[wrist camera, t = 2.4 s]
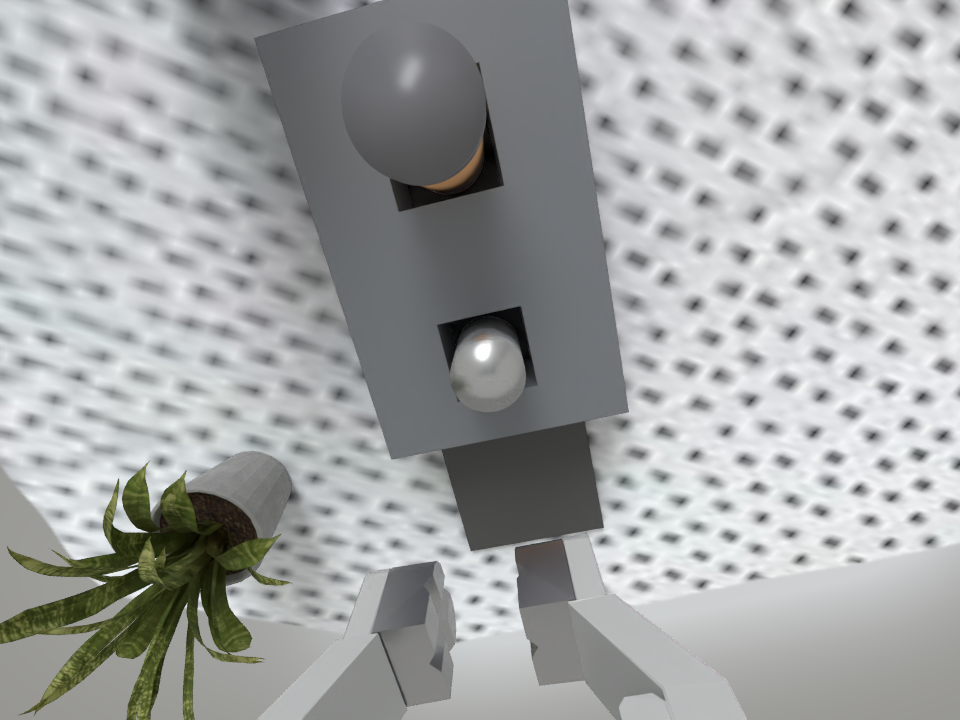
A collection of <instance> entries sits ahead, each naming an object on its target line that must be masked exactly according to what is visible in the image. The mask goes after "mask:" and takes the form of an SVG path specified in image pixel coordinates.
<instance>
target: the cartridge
mask: <svg viewBox="0 0 960 720" xmlns="http://www.w3.org/2000/svg"><path fill="white" fill-rule="evenodd" d="M341 107H342V115H343V120H344V124H345V127H346V130H347V133H348V135H349V137H350V139H351V141H352V143H353V145H354V147H355V148H356V150H357V151H358V153H359V154H360V155H361V156H362V158H363V159H364V160H365V161H366V162H367V163H368V164H369V165H370V166H371V167H373V168H374V169H375V170H377V171H378V172H379V173H381V174H383V175H385V176H387V177H389V178H391V179H394V180H396V181H399V182H401V183H404V184H408V185H415V186H422V187H424V188H426V189H429V190H431V191H433V192H436V193H439V194H445V195H449V194H456V193H459V192H462V191H464V190H465V189H467V188H468V187H470V186H471V185H472V184H473V183H474V182H475V181H476V179H477V178H478V176H479V174H480V172H481V170H482V167H483V163H484V142H483V134H484V130H485V124H486V97H485V90H484V85H483V81H482V77H481V75H480V72H479V69H478V67H477V65H476V63H475V61H474V59H473V58H472V56H471V55H470V53H469V52H468V51H467V49H466V48H465V47H464V46H463V45H462V44H461V42H460V41H459V40H457V39H456V38H455V37H454V36H453V35H451V34H450V33H448V32H447V31H445V30H443V29H442V28H440V27H437V26H435V25H433V24H429V23H425V22H420V21H401V22H396V23H392V24H389V25H387V26H384V27H382V28H380V29H379V30H377V31H375V32H374V33H372V34H371V35H370V36H368V37H367V38H366V39H365V40H364V41H363V42H362V43H361V44H360V46H359V47H358V48H357V50H356V51H355V52H354V54H353V56H352V58H351V59H350V61H349V63H348V66H347V69H346V71H345V75H344V79H343V83H342V91H341Z"/></svg>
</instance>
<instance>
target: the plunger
mask: <svg viewBox="0 0 960 720" xmlns="http://www.w3.org/2000/svg"><path fill="white" fill-rule="evenodd" d="M450 382H451V386H452V389H453V391H454V393H455V395H456V396H457V398H458V399H459V400H460V401H461V402H462V403H463V404H465V405H466V406H468V407H469V408H471V409H474V410H477V411H481V412H495V411H499V410H502V409H505V408H507V407H508V406H510V405H511V404H513V403H514V402H515V401H516V400H517V399H518V398H519V396H520V395H521V393H522V391H523V389H524V386H525V382H526V371H525V366H524V362H523V357H522V353H521V349H520V344H519V340H518V336H517V334H516V332H515V330H514V328H513V327H512V326H511V325H510V324H509V323H508V322H506V321H505V320H503V319H501V318H499V317H495V316H482V317H478V318H476V319H474V320H472V321H470V322H469V323H468V324H467V325H466V326H465V327H464V328H463V330H462V331H461V333H460V336H459V339H458V343H457V347H456V350H455V354H454V358H453V362H452V366H451V370H450Z"/></svg>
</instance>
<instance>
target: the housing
mask: <svg viewBox="0 0 960 720" xmlns="http://www.w3.org/2000/svg"><path fill="white" fill-rule="evenodd" d="M401 21H420V22H425V23H429V24H433V25H435V26H437V27H440V28H442V29H443V30H445V31H447V32H448V33H450V34H451V35H453V36H454V37H455V38H456V39H457V40H459V41H460V42H461V44H462V45H463V46H464V47H465V48H466V49H467V51H468V52H469V53H470V55H471V56H472V58H473V59H474V61H475V63H476V65H477V67H478V69H479V72H480V75H481V77H482V81H483V85H484V90H485V97H486V117H487V121H488V126H489V131H490V136H491V141H492V146H493V151H494V155H495V160H496V165H497V170H498V175H499V180H500V185H501V187H497V188H493V189H489V190H485V191H481V192H477V193H473V194H469V195H465V196H461V197H457V198H453V199H449V200H445V201H441V202H437V203H433V204H429V205H425V206H421V207H417V208H413V205H412V201H411V198H410V194H409V190H408V186H407V184H404V183H401V182H399V181H396V180H394V179H391V178H389V177H387V176H385V175H383V174H381V173H379V172H378V171H377V170H375V169H374V168H373V167H371V166H370V165H369V164H368V163H367V162H366V161H365V160H364V159H363V158H362V156H361V155H360V154H359V153H358V151H357V150H356V148H355V147H354V145H353V143H352V141H351V139H350V137H349V135H348V133H347V130H346V127H345V124H344V120H343V115H342V107H341V91H342V83H343V79H344V75H345V71H346V69H347V66H348V63H349V61H350V59H351V58H352V56H353V54H354V52H355V51H356V50H357V48H358V47H359V46H360V44H361V43H362V42H363V41H364V40H365V39H366V38H367V37H368V36H370V35H371V34H372V33H374V32H375V31H377V30H379V29H380V28H382V27H384V26H387V25H389V24H392V23H396V22H401ZM254 39H255V42H256V45H257V48H258V51H259V54H260V58H261V61H262V64H263V67H264V70H265V73H266V76H267V79H268V82H269V85H270V88H271V91H272V94H273V97H274V100H275V104H276V107H277V110H278V113H279V116H280V119H281V122H282V125H283V128H284V131H285V134H286V137H287V140H288V143H289V146H290V150H291V153H292V156H293V159H294V162H295V165H296V168H297V171H298V174H299V177H300V180H301V183H302V186H303V189H304V192H305V196H306V199H307V202H308V205H309V208H310V211H311V214H312V217H313V220H314V223H315V226H316V229H317V232H318V235H319V238H320V242H321V245H322V248H323V251H324V254H325V257H326V260H327V263H328V266H329V269H330V272H331V275H332V278H333V281H334V284H335V288H336V291H337V294H338V297H339V300H340V303H341V306H342V309H343V312H344V315H345V318H346V321H347V324H348V327H349V330H350V334H351V337H352V340H353V343H354V346H355V349H356V352H357V355H358V358H359V361H360V364H361V367H362V370H363V373H364V376H365V380H366V383H367V386H368V389H369V392H370V395H371V398H372V401H373V404H374V407H375V410H376V413H377V416H378V419H379V422H380V426H381V429H382V432H383V435H384V438H385V441H386V444H387V447H388V450H389V453H390V456H391V459H397V458H402V457H407V456H412V455H417V454H422V453H427V452H432V451H437V450H442V449H447V448H452V447H457V446H462V445H467V444H472V443H477V442H482V441H487V440H492V439H497V438H502V437H507V436H512V435H517V434H522V433H527V432H532V431H537V430H542V429H547V428H552V427H557V426H562V425H567V424H572V423H577V422H582V421H587V420H592V419H597V418H602V417H607V416H612V415H617V414H622V413H627V412H629V410H628V403H627V397H626V390H625V383H624V376H623V370H622V363H621V356H620V350H619V343H618V336H617V329H616V323H615V316H614V309H613V303H612V296H611V289H610V282H609V276H608V269H607V262H606V256H605V249H604V242H603V235H602V229H601V222H600V215H599V209H598V202H597V195H596V188H595V182H594V175H593V168H592V162H591V155H590V148H589V141H588V135H587V128H586V121H585V115H584V108H583V101H582V94H581V88H580V81H579V74H578V68H577V61H576V54H575V47H574V41H573V34H572V27H571V21H570V14H569V7H568V0H383V1H379V2H376V3H372V4H369V5H366V6H362V7H359V8H355V9H352V10H349V11H345V12H342V13H338V14H335V15H332V16H328V17H325V18H321V19H318V20H315V21H311V22H308V23H304V24H301V25H298V26H294V27H291V28H287V29H284V30H281V31H277V32H274V33H270V34H267V35H263V36H260V37H257V38H254ZM518 306H519V308H520V313H521V317H522V322H523V327H524V332H525V337H526V341H527V346H528V351H529V356H530V359H527V360H523V362H524V366H525V371H526V382H525V386H524V389H523V391H522V393H521V395H520V396H519V398H518V399H517V400H516V401H515V402H514V403H513V404H511V405H510V406H508V407H507V408H505V409H502V410H499V411H495V412H481V411H477V410H474V409H471V408H469V407H468V406H466V405H465V404H463V403H462V402H461V401H460V400H459V399H458V398H457V396H456V395H455V393H454V391H453V389H452V386H451V382H450V370H451V366H452V362H453V358H454V354H455V350H456V345H455V342H454V338H453V334H452V330H451V326H450V322H451V321H456V320H460V319H465V318H469V317H474V316H478V315H482V314H487V313H491V312H496V311H500V310H505V309H509V308H514V307H518Z"/></svg>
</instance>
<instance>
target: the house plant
mask: <svg viewBox="0 0 960 720" xmlns="http://www.w3.org/2000/svg"><path fill="white" fill-rule="evenodd" d="M148 463H149V462H148ZM148 463H147V464H146V465H145V466H144V467H143V468H142V469H141V470H140V471H139V472H137V473H136V474H135V475H134V476H133V477H132V478H131V479H130V480H129V481H128V482H127V484H126V486H125V489H124V491H123V496H122V502H123V507H124V510H125V512H126V514H127V516H128V518H129V519H130V521H131V522H132V523H133V524H134V526H135V527H136V528H138V529H141V530H144V531H147V532H148V533H123V532H121V531H120V530H118V529H116V528H115V527H114V526H113V524H112V523H113V518H114V514H115V510H116V505H117V498H118V490H119V479H118V481H117V485H116V487H115V490H114V493H113V496H112V499H111V501H110V503H109V505H108V507H107V509H106V512H105V515H104V520H103V529H104V533H105V536H106V538H107V540H108V541H109V543H110V545H111V546H112V548H113V549H114V551H115V552H116V553H114V554H109V555H103V556H96V557H91V558H86V559H81V560H72V559H70V561H69V560H68V559H66V558H65V557H63V556H62V555H60V554H59V553H57V552H55V551H54V552H55V553H56V554H57V555H59V556H60V557H61V558H63V559H64V560H65V561H66V562H68V563H69V565H71V566H72V567H58V566H54V565H50V564H46V563H43V562H41V561H38V560H35V559H33V558H30V557H27V556H24V555H21V554H17V553H15V552H13V551H11V550H10V549H9V548H8V547H7V548H8V551H9V553H10V555H11V556H12V557H13V558H14V559H15V560H16V561H17V562H18V563H19V564H20V565H22V566H23V567H25V568H26V569H28V570H31V571H33V572H36V573H39V574H44V575H48V576H61V577H91V578H93V579H96V580H99V581H102V582H106V584H103V585H101V586H98V587H96V588H93V589H91V590H88V591H85V592H83V593H80V594H77V595H75V596H71V597H68V598H65V599H62V600H59V601H55V602H52V603H49V604H45V605H42V606H38V607H35V608H31V609H27V610H25V611H23V612H21V613H20V614H18V615H16V616H14V617H12V618H10V619H9V620H6V621H4V622H3V623H0V644H2V643H8V642H13V641H16V640H19V639H23V638H26V637H29V636H33V635H36V634H47V635H66V634H77V633H85V632H90V631H93V630H97V629H100V628H101V629H100V630H99V631H98V632H96V633H95V634H94V635H93V636H92V637H91V638H89V639H88V640H87V641H86V642H85V643H84V644H83V645H82V646H81V647H80V648H79V649H78V650H77V651H76V652H75V653H74V654H73V655H72V656H71V658H70V659H69V660H68V661H67V663H66V664H65V665H64V666H63V668H62V669H61V670H60V671H59V673H58V674H57V675H56V677H55V678H54V679H53V681H52V682H51V684H50V685H49V687H48V688H47V690H46V691H45V693H44V695H43V697H42V700H41V701H40V703H38V704H37V705H35V706H34V707H33V708H31V709H30V710H28V711H26V712H25V713H23V714H26V713H29V712H31V711H34V710H36V711H35V714H36V712H37V711H38V710H40V709H41V708H42V707H43V706H45V705H47V704H49V703H50V702H52V701H54V700H56V699H57V698H59V697H60V696H62V695H63V694H64V693H66V692H68V691H69V690H71V689H72V688H73V687H75V686H76V685H77V684H78V683H80V682H81V681H82V680H84V679H85V678H86V677H87V676H88V675H89V674H91V672H93V671H94V670H95V669H96V668H97V667H98V666H100V665H101V664H102V663H103V662H104V661H105V660H106V659H107V658H108V657H109V656H110V655H112V654H113V653H114V652H115V651H116V655H117V656H118V657H122V658H130V659H134V658H135V657H138V656H140V655H141V654H142V653H143V652H144V651H145V650H146V649H147V647H148V645H149V644H150V642H151V644H150V647H149V649H148V652H147V655H146V658H145V661H144V664H143V666H142V669H141V673H140V675H139V677H138V679H137V682H136V684H135V686H134V689H133V692H132V695H131V698H130V701H129V703H128V710H127V720H135V719H136V715H137V718H138V720H150V716H151V710H152V707H153V705H154V702H155V699H156V697H157V694H158V690H159V684H160V677H161V671H162V666H163V662H164V658H165V655H166V652H167V649H168V647H169V644H170V642H171V639H172V637H173V634H174V632H175V629H176V627H177V624H178V622H179V619H180V616H181V614H182V611H183V609H184V607H185V606H186V604H187V617H188V631H187V641H186V659H185V670H184V685H183V715H184V720H195V719H194V714H193V673H194V658H193V657H194V654H193V649H194V637H195V638H196V639H197V640H198V641H199V642H200V643H201V645H203V646H204V647H205V645H204V644H203V642H202V639H201V636H200V631H199V626H198V616H197V608H198V598H199V593H201V600H202V605H203V608H204V610H205V612H206V614H207V616H208V619H209V626H210V630H211V634H212V637H213V640H214V642H215V644H216V646H217V647H218V648H219V649H220V650H222V651H225V652H227V653H228V652H238V651H242V650H245V649H247V648H249V646H250V643H251V640H252V637H251V635H250V632H249V631H248V630H247V629H246V627H245V626H244V625H243V624H242V623H241V622H240V621H239V620H238V618H237V617H236V616H235V615H234V613H233V612H232V611H231V609H230V608H229V605H228V600H227V595H226V586H228V585H232V584H235V583H238V582H241V581H243V580H245V579H246V578H248V577H249V576H251V575H252V576H253V577H254V578H255V579H256V580H257V581H258V582H259V583H261V584H265V585H276V586H277V585H285V584H288V583H290V582H287V581H281V580H276V579H271V578H267V577H264V576H262V575H260V574H258V573H256V572H255V571H256V570H257V569H258V567H259V566H260V565H261V562H262V560H263V558H264V556H265V555H266V553H267V552H268V550H269V549H270V548H271V546H272V545H273V543H274V542H275V540H276V539H277V538H278V537H279V536H280V535H281V534H280V535H278V536H276V537H274V538H272V536H273V534H274V532H275V529H276V527H277V525H278V522H279V520H280V517H281V515H282V513H283V510H284V508H285V506H286V503H287V501H288V499H289V496H290V493H291V480H290V476H289V474H288V473H287V471H286V469H285V468H284V467H283V466H282V465H281V463H280V462H279V461H277V460H276V459H274V458H273V457H271V456H269V455H266V454H264V453H261V452H254V451H249V452H242V453H239V454H236V455H234V456H232V457H231V458H229V459H227V460H225V461H224V462H222V463H220V464H219V465H217V466H215V467H214V468H212V469H210V470H209V471H207V472H205V473H204V474H202V475H200V476H198V477H197V478H195V479H193V480H192V481H190V482H188V483H187V484H185V480H184V478H185V475H186V471H187V470H186V471H185V472H184V474H183V475H182V476H181V478H180V479H178V480H177V481H176V482H175V483H173V484H172V485H171V486H169V487H168V488H167V489H166V490H165V491H164V493H163V495H162V498H161V500H160V501H159V502H158V503H157V504H156V506H155V507H154V509H153V510H152V511H151V513H150V502H149V493H148V487H147V484H146V480H145V471H146V466H147V465H148ZM52 551H53V550H52ZM155 558H157V559H156V561H155ZM138 562H139V564H138V565H135V566H130V565H133V564H136V563H138ZM128 566H130V567H128ZM134 567H138V569H135V570H133V571H132V572H130V573H128V574H126V575H124V576H112V577H110V576H104V574H109V573H113V572H117V571H121V570H125V569H129V568H134ZM150 584H153V585H152V586H150V587H149V588H148V589H146V590H145V591H143V592H142V593H141V594H139V595H138V596H137V597H135V598H134V599H133V600H132V601H131V602H130V603H129V604H128V605H126V606H125V607H124V608H123V609H122V610H121V611H120V612H119V613H117V615H115V616H114V617H113V618H111V619H108V620H105V621H102V622H98V623H94V624H89V625H83V626H74V627H63V628H58V627H62V626H65V625H68V624H72V623H74V622H77V621H80V620H82V619H85V618H87V617H90V616H92V615H95V614H97V613H98V612H100V611H101V610H103V609H105V608H106V607H107V606H109V605H111V604H112V603H114V602H115V601H117V600H119V599H121V598H123V597H125V596H127V595H129V594H131V593H134V592H136V591H138V590H140V589H142V588H144V587H146V586H148V585H150ZM292 584H293V583H292ZM200 589H201V590H200ZM187 602H188V603H187ZM137 617H138V618H137ZM136 618H137V619H136ZM135 619H136V620H135ZM134 620H135V621H134ZM133 621H134V622H133ZM132 622H133V623H132ZM131 623H132V624H131ZM130 624H131V625H130ZM129 625H130V626H129ZM127 626H129V627H128V628H127V629H126V630H125V631H124V632H122V631H123V630H124V629H125V628H126V627H127ZM121 632H122V633H121ZM119 633H121V634H120V635H119V636H118V637H117V638H116V639H115V640H113V639H114V638H115V637H116V636H117V635H118V634H119ZM112 640H113V641H112ZM151 640H152V641H151ZM111 641H112V642H111ZM110 642H111V643H110ZM108 643H110V644H109V645H108ZM106 645H108V646H106ZM105 646H106V647H105ZM104 647H105V648H104ZM103 648H104V649H103ZM205 648H206V649H207V651H208V652H209V653H210V654H211V655H212V657H213V658H216V659H218V660H221V661H226V662H240V663H241V662H244V663H258V662H261V661H255V660H258V659H263V658H256V657H242V656H235V655H231V654H230V653H228V654H221V653H218V652H215V651H212V650H210V649H209V648H207V647H205ZM102 649H103V650H102ZM101 650H102V651H101ZM100 651H101V652H100ZM99 652H100V653H99ZM98 653H99V654H98Z"/></svg>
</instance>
